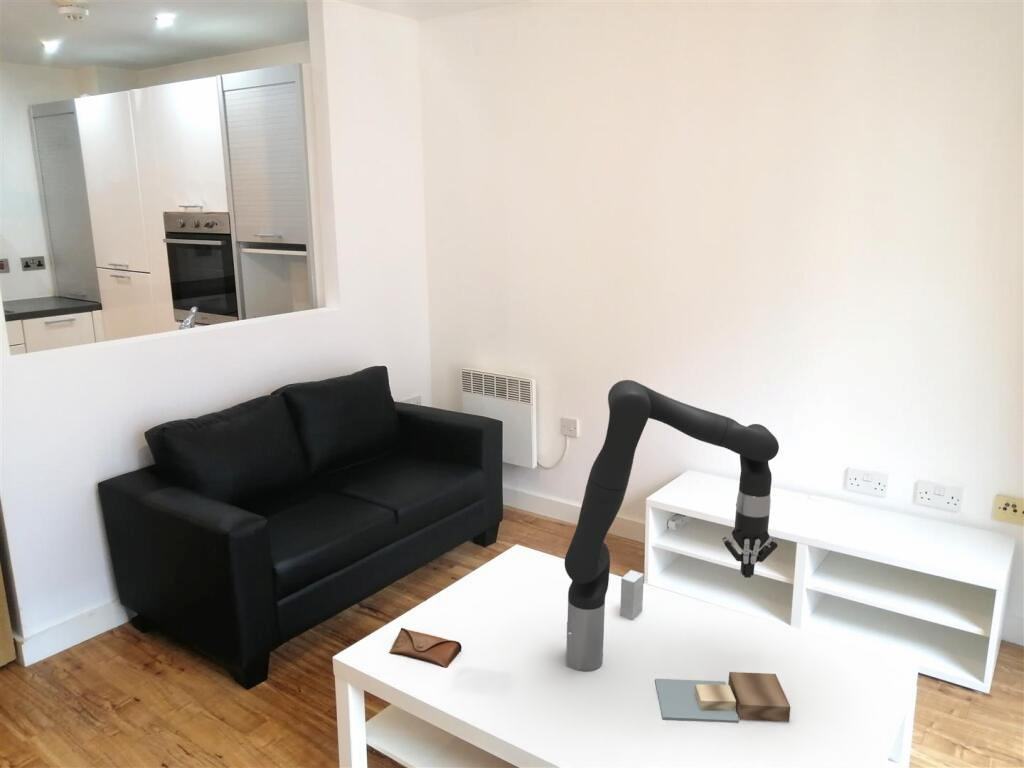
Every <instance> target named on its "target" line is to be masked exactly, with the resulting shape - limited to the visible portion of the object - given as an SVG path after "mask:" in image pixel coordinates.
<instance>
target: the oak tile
mask: <svg viewBox="0 0 1024 768" xmlns="http://www.w3.org/2000/svg"><path fill="white" fill-rule="evenodd" d="M695 696H696V699H697V702H698V705H699V707H700V710H714V711H736V700H735V697H734V695H733V693H732V691H731V688H730V686H729V685H728V684H726V685H709V684H695Z"/></svg>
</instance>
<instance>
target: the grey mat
mask: <svg viewBox="0 0 1024 768" xmlns="http://www.w3.org/2000/svg"><path fill="white" fill-rule="evenodd" d="M654 683H655V689H656V693H657V698H658V702H659V708H660V712H661V718H662V721H663V720H665V721H666V720H667V721H668V720H670V721H671V720H672V721H686V720H687V721H689V722H691V721H692V722H712V723H713V722H715V723H734V724H735V723H736V724H737V723H739V721H740V719H739V717H738V714H737V711H736V710H735V711H714V710H700V707H699V705H698V702H697V699H696V696H695V684H709V685H727V682H726V681H724V680H723V681H721V680H702V679H701V680H697V679H678V678H677V679H674V678H671V679H670V678H655V679H654Z"/></svg>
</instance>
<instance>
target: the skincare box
mask: <svg viewBox="0 0 1024 768" xmlns="http://www.w3.org/2000/svg"><path fill="white" fill-rule="evenodd" d="M644 577H645V574H644V573H643V572H638V571H635V570H632V569H630V570H629V571H628V572H627V573H626V574H625V575H624V576H622V577H621V579H620V580H621V582H620V583H621V584H620V587H621V588H620V610H619V612H620V613H619V614H620V615H619V616H620V617H623V618H625V619H628V620H630V621H634V620H635V619H636V618H637V617H638V616H639V615H640V614H641V613H642V612H643V606H644V605H643V603H644V601H643V600H644Z"/></svg>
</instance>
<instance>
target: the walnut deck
mask: <svg viewBox="0 0 1024 768" xmlns="http://www.w3.org/2000/svg"><path fill="white" fill-rule="evenodd" d="M727 685H729V686H730V688H731V691H732V693H733V695H734V697H735V700H736V708H735V711H736V714H737V717H738V720H739V721H757V722H759V721H760V722H779V723H781V722H783V723H789V721H790V717H791V716H790V714H791V708H792V707H791V704H790V703H789V700H788V698H787V696H786V694H785V691H784V689H783V687H782V685H781V682H780V680H779V678H778V677H777V674H776V673H767V672H766V673H765V672H763V673H762V672H742V671H740V672H739V671H729V672H728V683H727Z"/></svg>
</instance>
